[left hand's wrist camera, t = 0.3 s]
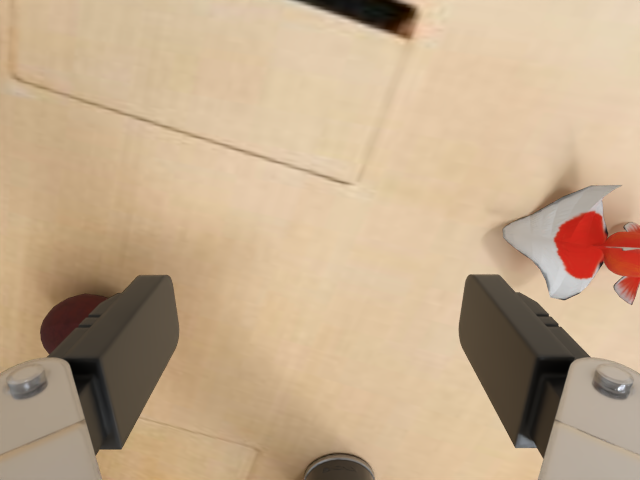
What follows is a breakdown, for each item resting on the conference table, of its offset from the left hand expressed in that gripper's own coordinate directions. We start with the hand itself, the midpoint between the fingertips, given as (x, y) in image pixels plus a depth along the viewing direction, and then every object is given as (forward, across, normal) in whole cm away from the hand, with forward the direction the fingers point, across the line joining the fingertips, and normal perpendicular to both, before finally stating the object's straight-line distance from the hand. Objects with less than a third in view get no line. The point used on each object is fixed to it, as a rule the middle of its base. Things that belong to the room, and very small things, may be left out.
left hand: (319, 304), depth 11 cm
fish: (+29, +25, -9) cm, 39 cm away
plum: (+29, -24, -18) cm, 41 cm away
